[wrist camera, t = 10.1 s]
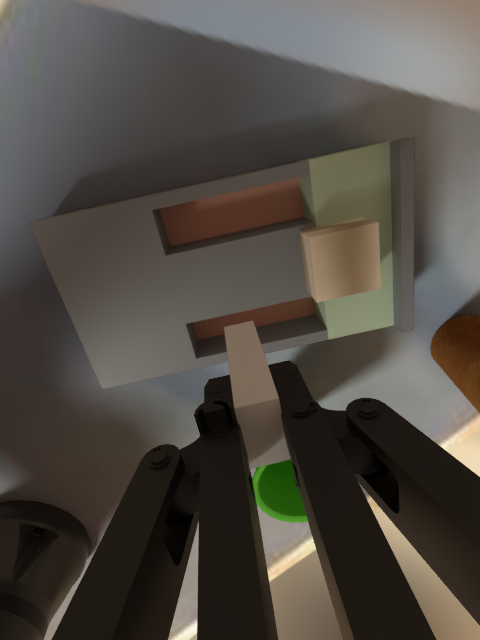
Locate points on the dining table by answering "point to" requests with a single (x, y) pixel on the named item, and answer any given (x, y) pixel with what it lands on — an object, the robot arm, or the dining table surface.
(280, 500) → the cup
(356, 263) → the block
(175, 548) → the robot arm
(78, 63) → the dining table surface
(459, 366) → the disposable coffee cup
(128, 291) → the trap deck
